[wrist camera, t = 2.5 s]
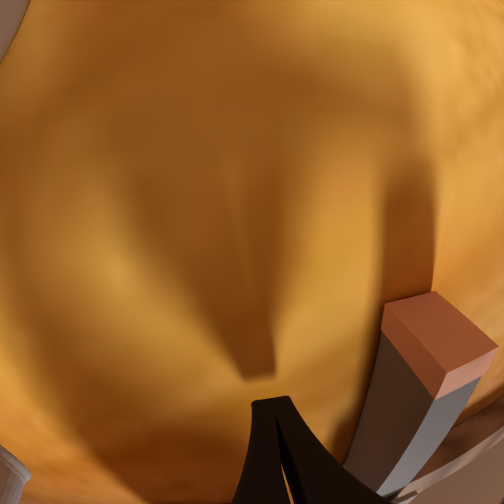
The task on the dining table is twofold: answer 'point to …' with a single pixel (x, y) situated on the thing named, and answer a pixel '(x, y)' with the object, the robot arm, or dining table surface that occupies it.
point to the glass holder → (11, 477)
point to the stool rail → (458, 449)
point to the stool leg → (415, 389)
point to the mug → (10, 21)
